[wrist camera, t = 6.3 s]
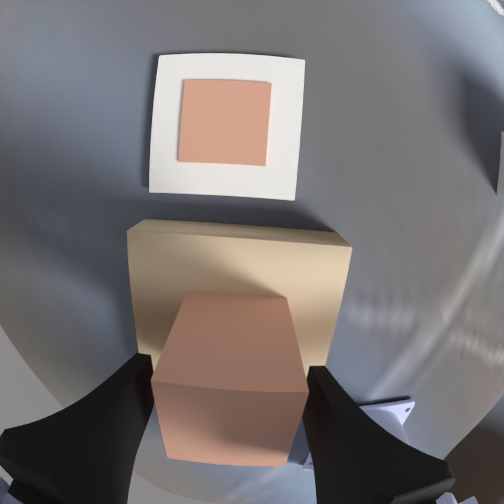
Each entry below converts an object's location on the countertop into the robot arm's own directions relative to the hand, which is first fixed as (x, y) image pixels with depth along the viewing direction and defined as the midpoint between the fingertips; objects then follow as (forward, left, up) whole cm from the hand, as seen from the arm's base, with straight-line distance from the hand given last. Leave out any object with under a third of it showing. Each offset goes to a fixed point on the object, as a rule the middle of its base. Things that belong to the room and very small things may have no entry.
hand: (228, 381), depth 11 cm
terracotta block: (0, 0, -3) cm, 3 cm away
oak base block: (0, 0, -6) cm, 6 cm away
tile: (+10, +1, -6) cm, 12 cm away
